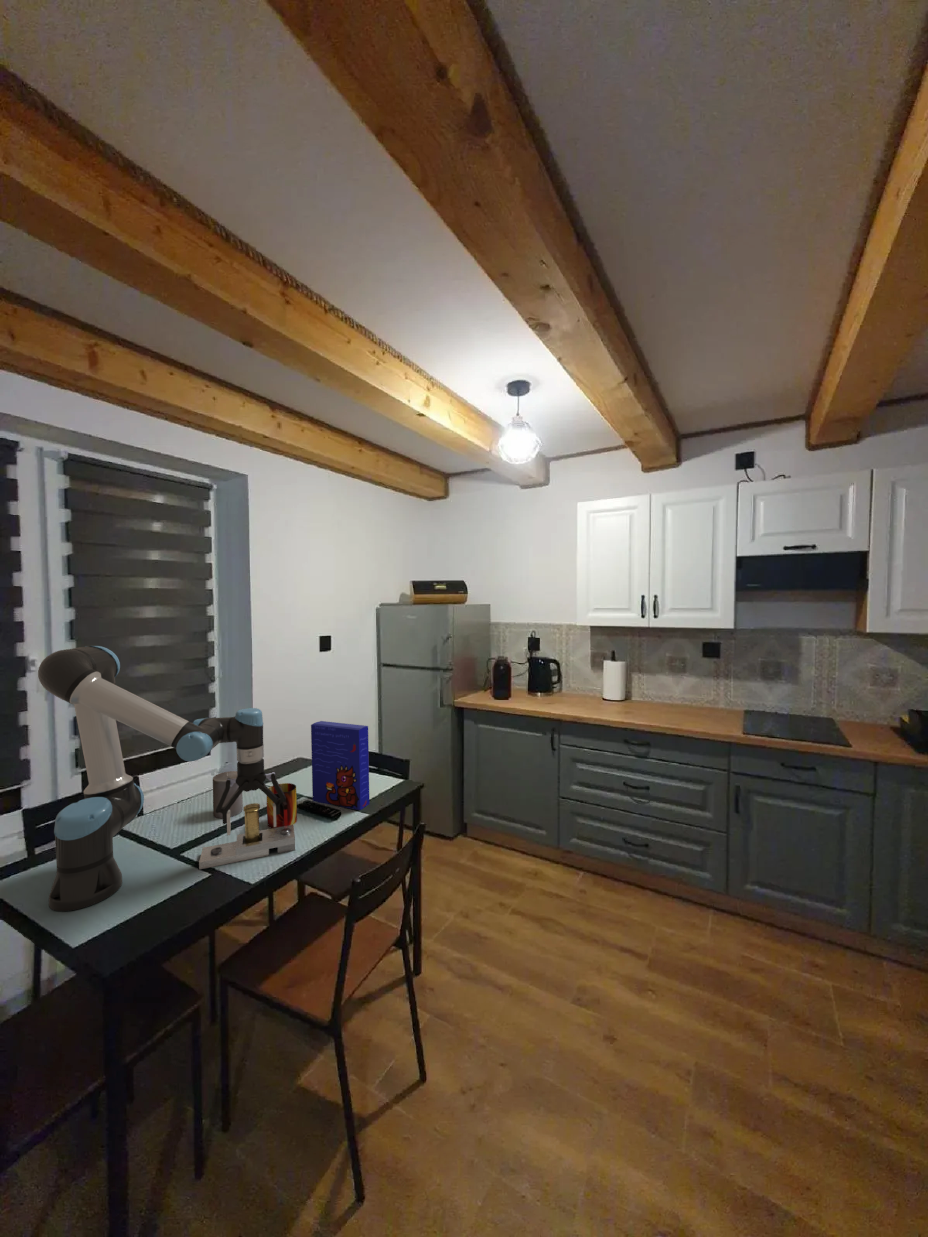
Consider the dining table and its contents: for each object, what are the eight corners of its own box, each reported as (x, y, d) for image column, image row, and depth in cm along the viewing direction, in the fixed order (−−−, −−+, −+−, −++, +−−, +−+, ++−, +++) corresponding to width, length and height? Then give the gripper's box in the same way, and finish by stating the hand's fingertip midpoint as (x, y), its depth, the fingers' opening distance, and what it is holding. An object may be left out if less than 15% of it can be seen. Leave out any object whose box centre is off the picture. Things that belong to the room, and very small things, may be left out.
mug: (285, 835, 154) (284, 799, 154) (261, 824, 162) (260, 790, 161) (310, 823, 162) (309, 789, 161) (286, 813, 170) (285, 781, 169)
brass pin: (244, 856, 141) (243, 810, 141) (244, 849, 145) (243, 804, 145) (260, 853, 143) (259, 808, 142) (260, 846, 147) (260, 802, 147)
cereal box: (369, 803, 177) (368, 725, 176) (360, 810, 172) (358, 729, 171) (322, 795, 186) (321, 720, 185) (312, 801, 180) (310, 724, 179)
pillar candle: (210, 812, 172) (208, 772, 171) (238, 804, 178) (237, 765, 177) (217, 821, 164) (216, 779, 164) (246, 813, 171) (245, 772, 170)
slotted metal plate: (199, 869, 135) (198, 853, 134) (203, 854, 143) (202, 839, 143) (295, 850, 145) (294, 835, 144) (293, 836, 153) (293, 822, 153)
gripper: (203, 769, 135) (205, 843, 136) (293, 758, 144) (295, 826, 145) (206, 761, 142) (208, 831, 143) (292, 751, 151) (293, 816, 152)
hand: (252, 829), depth 144 cm, fingers open, 12 cm apart
